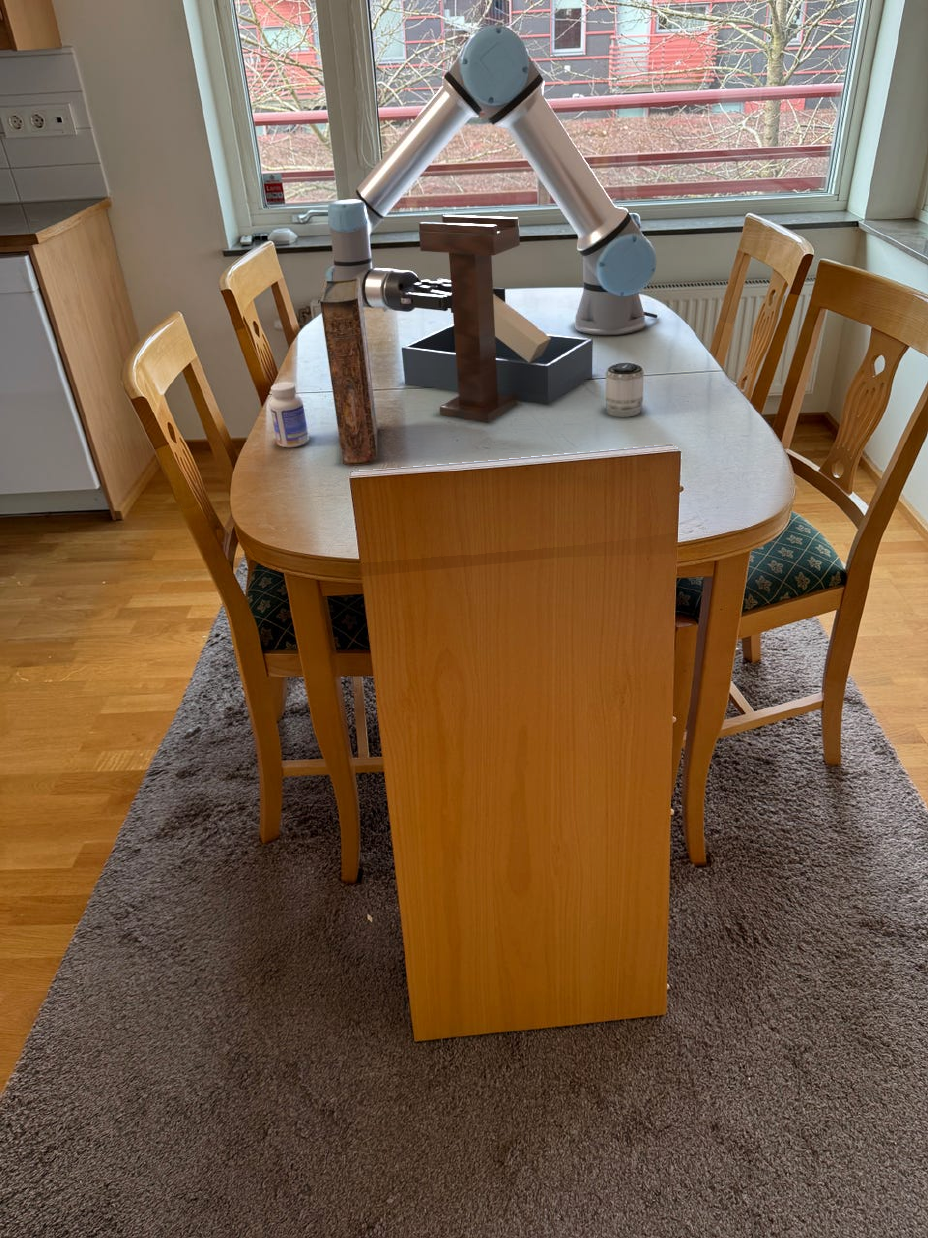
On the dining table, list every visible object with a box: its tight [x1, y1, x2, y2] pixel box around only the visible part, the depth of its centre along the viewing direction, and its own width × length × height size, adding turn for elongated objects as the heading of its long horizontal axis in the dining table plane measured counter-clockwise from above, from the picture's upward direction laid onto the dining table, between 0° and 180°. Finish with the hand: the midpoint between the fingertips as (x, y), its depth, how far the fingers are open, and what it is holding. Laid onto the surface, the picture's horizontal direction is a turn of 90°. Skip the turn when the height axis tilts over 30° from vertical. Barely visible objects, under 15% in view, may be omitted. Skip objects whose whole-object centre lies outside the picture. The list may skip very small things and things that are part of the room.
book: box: [319, 277, 378, 466], centre depth 144 cm, size 16×6×25 cm, turn 5°
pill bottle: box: [269, 381, 310, 448], centre depth 152 cm, size 5×5×10 cm
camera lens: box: [605, 362, 645, 418], centre depth 154 cm, size 6×6×8 cm
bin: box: [401, 323, 594, 406], centre depth 173 cm, size 32×18×7 cm, turn 57°
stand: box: [418, 214, 521, 424], centre depth 153 cm, size 14×10×31 cm
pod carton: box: [493, 294, 551, 362], centre depth 168 cm, size 19×5×4 cm, turn 57°
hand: (496, 299), depth 167 cm, fingers closed on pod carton, 5 cm apart
